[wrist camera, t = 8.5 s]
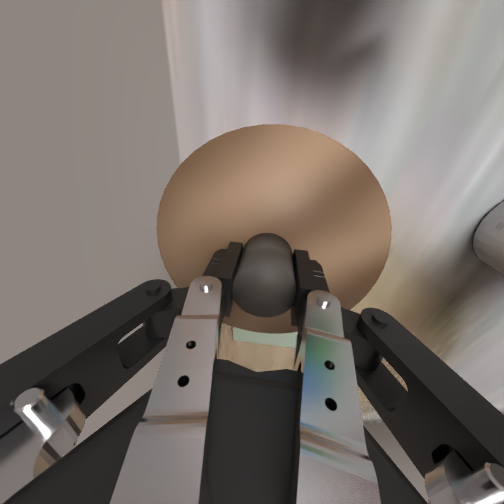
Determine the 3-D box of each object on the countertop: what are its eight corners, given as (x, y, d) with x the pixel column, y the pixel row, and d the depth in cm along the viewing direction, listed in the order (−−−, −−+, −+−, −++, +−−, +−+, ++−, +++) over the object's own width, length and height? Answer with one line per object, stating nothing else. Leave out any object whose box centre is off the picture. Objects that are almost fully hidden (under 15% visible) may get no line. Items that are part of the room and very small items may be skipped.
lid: (440, 229, 12) (514, 274, 8) (285, 348, 18) (286, 405, 14) (232, 52, 9) (201, -2, 5) (134, 264, 15) (88, 307, 12)
